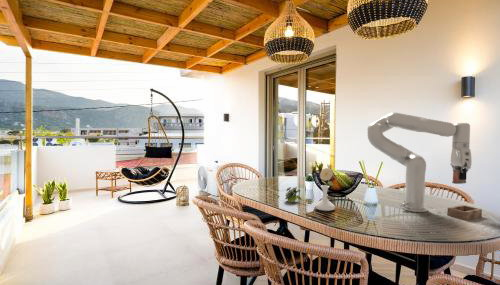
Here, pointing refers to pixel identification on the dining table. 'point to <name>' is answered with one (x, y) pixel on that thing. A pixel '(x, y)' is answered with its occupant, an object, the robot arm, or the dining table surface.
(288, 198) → the green leafy plant
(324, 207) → the flower in vase
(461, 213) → the lighter dock
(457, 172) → the lighter
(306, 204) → the dining table surface
